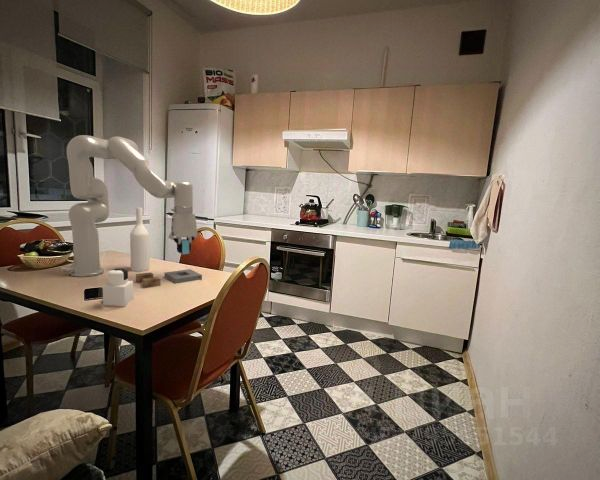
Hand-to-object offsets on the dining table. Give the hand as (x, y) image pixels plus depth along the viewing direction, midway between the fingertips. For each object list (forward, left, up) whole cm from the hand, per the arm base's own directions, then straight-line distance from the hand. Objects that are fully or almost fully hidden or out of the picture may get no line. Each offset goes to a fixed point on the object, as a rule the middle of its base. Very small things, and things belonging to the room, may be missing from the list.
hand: (183, 251), depth 140 cm
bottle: (-10, +26, -13) cm, 31 cm away
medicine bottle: (-30, -16, -13) cm, 36 cm away
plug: (0, 0, -1) cm, 1 cm away
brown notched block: (-15, 0, -13) cm, 20 cm away
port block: (0, 0, -13) cm, 13 cm away
